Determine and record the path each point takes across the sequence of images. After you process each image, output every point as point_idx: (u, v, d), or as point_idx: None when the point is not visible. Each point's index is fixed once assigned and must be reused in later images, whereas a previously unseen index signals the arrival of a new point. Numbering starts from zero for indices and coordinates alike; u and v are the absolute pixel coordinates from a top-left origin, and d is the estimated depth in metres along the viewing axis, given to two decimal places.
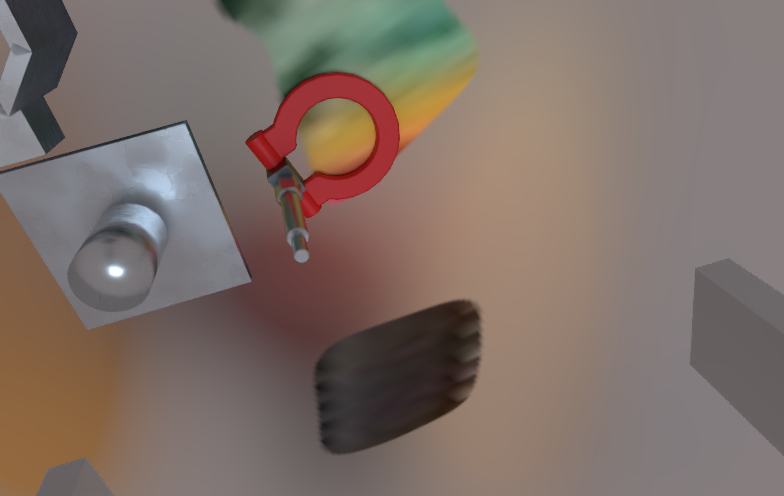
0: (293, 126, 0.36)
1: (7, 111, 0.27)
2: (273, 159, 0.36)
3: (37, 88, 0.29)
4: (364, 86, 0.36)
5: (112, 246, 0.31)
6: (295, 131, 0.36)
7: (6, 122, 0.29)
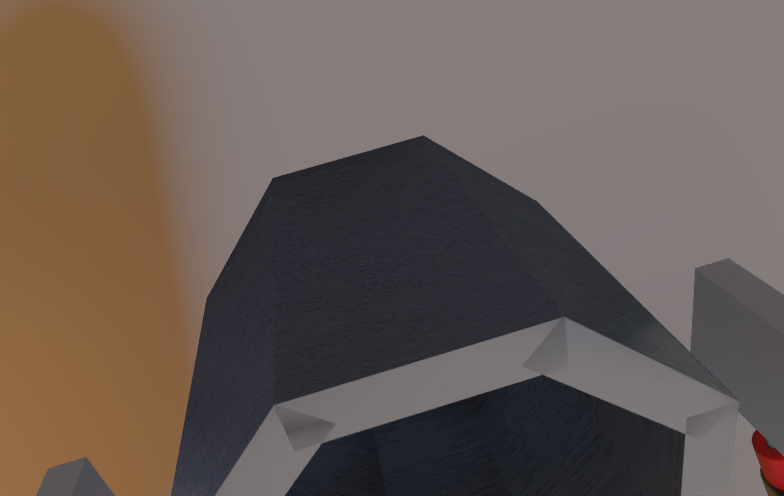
0: None
1: None
2: None
3: None
4: None
5: None
6: None
7: None
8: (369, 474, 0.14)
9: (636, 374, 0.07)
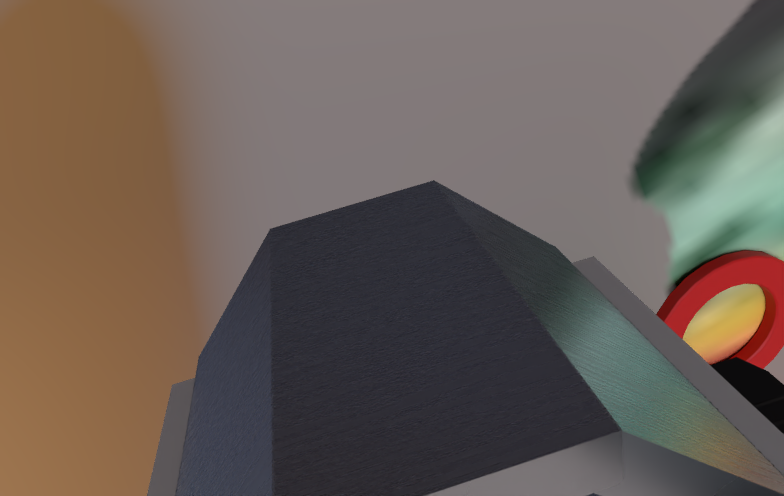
0: (686, 321, 0.27)
1: None
2: None
3: None
4: (779, 268, 0.27)
5: None
6: (686, 326, 0.27)
7: None
8: None
9: (700, 486, 0.06)
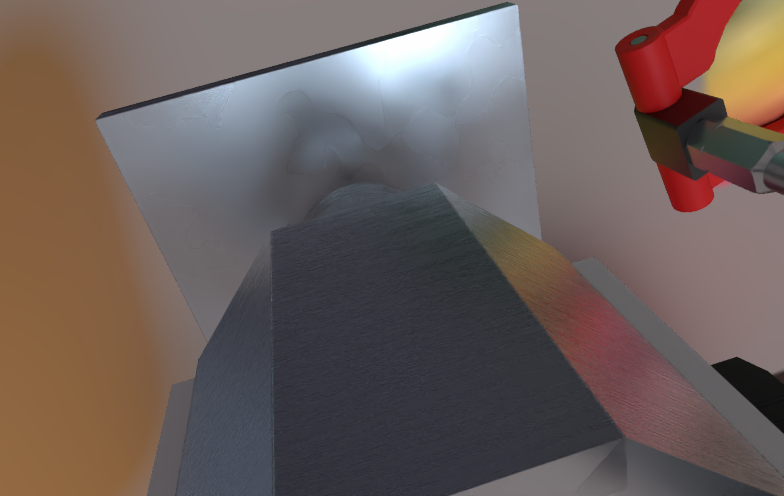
0: (722, 17, 0.17)
1: None
2: (672, 89, 0.17)
3: None
4: None
5: None
6: (722, 29, 0.17)
7: None
8: None
9: (704, 492, 0.06)
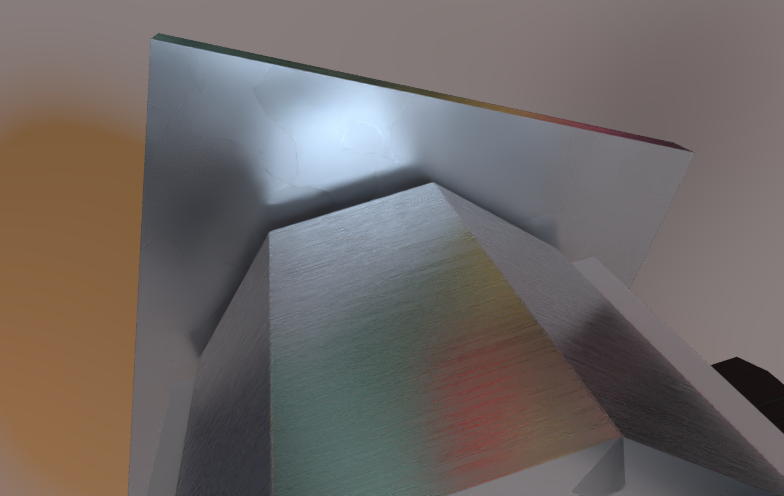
0: None
1: None
2: None
3: None
4: None
5: None
6: None
7: None
8: None
9: (703, 491, 0.06)
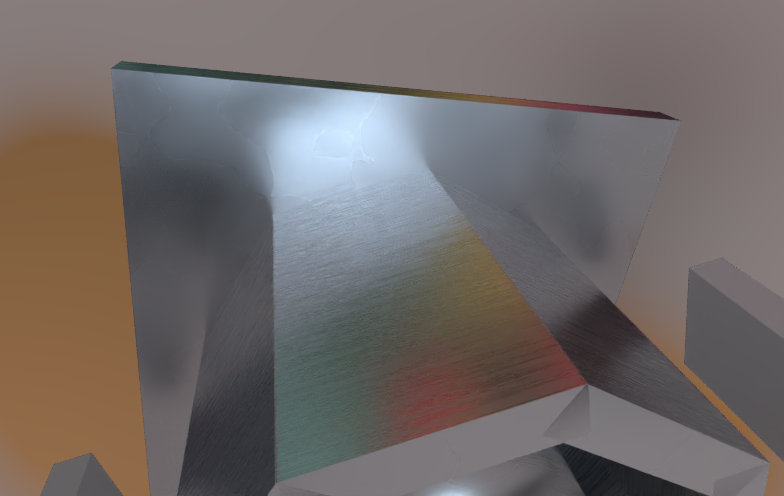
0: None
1: None
2: None
3: None
4: None
5: None
6: None
7: None
8: None
9: (662, 439, 0.07)
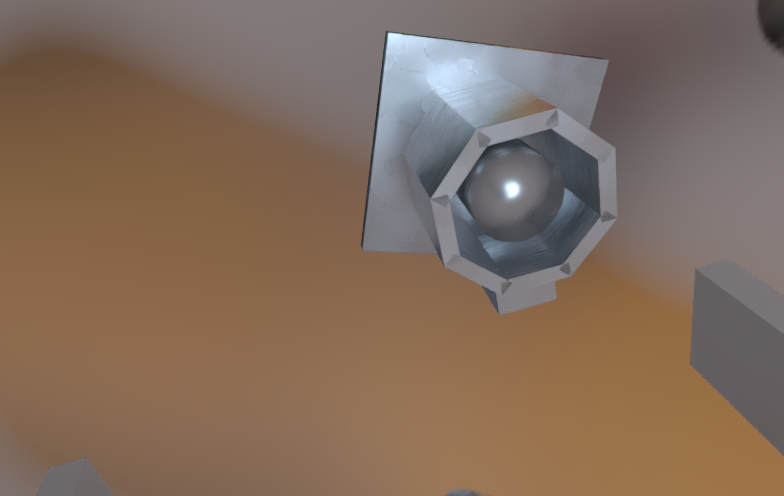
0: None
1: (572, 270, 0.27)
2: None
3: None
4: None
5: (484, 176, 0.25)
6: None
7: None
8: (472, 235, 0.30)
9: (579, 132, 0.24)
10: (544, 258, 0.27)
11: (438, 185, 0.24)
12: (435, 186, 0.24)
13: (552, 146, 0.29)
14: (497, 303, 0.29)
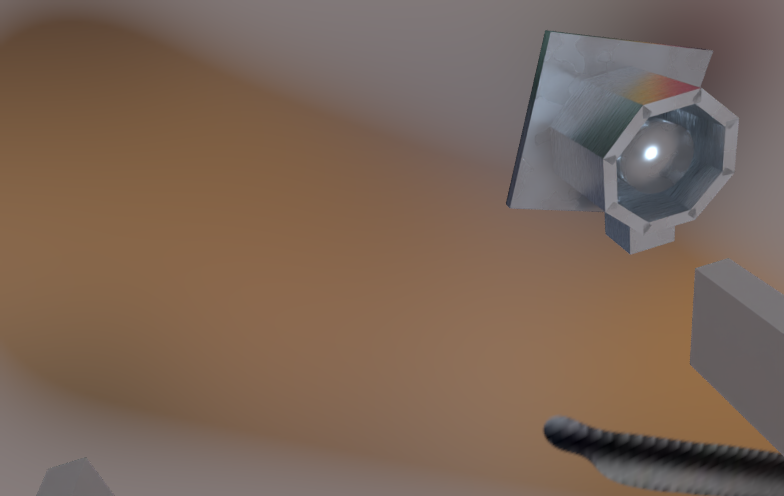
0: None
1: (696, 214, 0.35)
2: None
3: None
4: None
5: (637, 141, 0.33)
6: None
7: None
8: None
9: (715, 106, 0.32)
10: (673, 206, 0.35)
11: (609, 148, 0.32)
12: (606, 149, 0.32)
13: (670, 119, 0.37)
14: (629, 244, 0.37)
